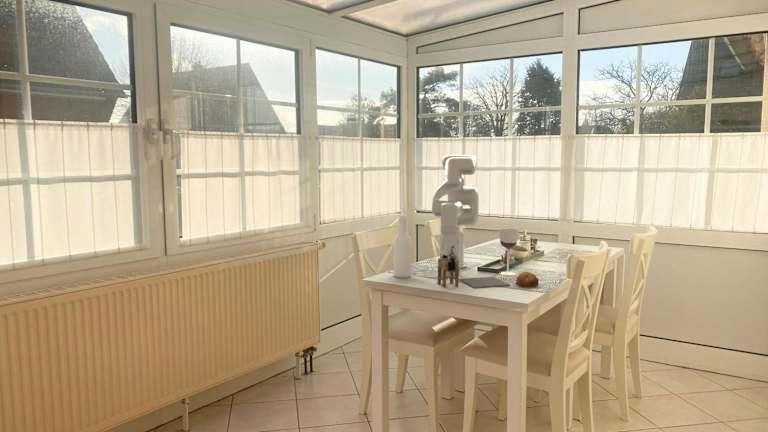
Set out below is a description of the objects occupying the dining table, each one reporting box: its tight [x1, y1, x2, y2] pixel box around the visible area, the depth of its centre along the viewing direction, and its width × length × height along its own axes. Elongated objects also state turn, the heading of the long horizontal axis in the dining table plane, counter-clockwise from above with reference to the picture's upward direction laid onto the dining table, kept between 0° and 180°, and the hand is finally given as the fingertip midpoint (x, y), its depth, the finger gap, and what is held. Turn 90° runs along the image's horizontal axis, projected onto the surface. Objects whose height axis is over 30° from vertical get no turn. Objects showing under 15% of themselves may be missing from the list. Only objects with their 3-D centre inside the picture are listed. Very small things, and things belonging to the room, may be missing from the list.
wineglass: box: [498, 228, 520, 276], centre depth 283 cm, size 9×10×22 cm
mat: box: [458, 276, 511, 289], centre depth 263 cm, size 17×18×1 cm
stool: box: [437, 257, 460, 288], centre depth 257 cm, size 7×7×12 cm
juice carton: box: [439, 229, 462, 278], centre depth 277 cm, size 9×8×24 cm
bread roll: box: [515, 271, 540, 289], centre depth 259 cm, size 10×10×8 cm
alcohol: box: [393, 214, 413, 279], centre depth 275 cm, size 9×9×30 cm
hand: (448, 268), depth 257 cm, fingers closed on stool, 7 cm apart
